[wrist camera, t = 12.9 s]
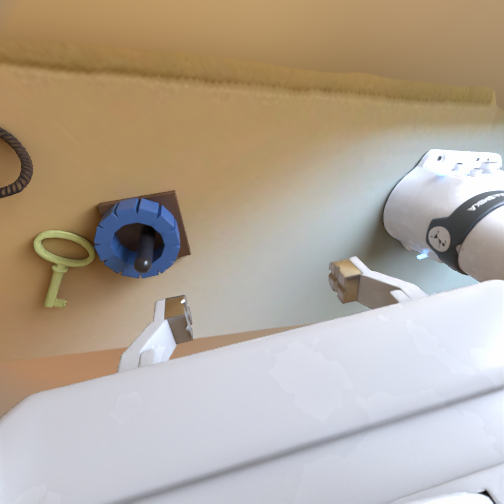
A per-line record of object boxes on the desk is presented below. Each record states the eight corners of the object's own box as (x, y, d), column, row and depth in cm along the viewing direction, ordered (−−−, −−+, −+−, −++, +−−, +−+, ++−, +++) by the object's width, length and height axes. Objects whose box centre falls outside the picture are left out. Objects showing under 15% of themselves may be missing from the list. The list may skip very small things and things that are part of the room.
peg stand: (174, 190, 39) (175, 221, 30) (190, 250, 44) (194, 292, 35) (99, 203, 38) (76, 240, 29) (124, 264, 43) (112, 311, 34)
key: (48, 301, 43) (43, 310, 41) (33, 227, 37) (26, 234, 35) (101, 300, 45) (98, 309, 43) (94, 230, 39) (90, 237, 38)
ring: (168, 192, 38) (167, 201, 35) (186, 255, 43) (186, 268, 40) (87, 206, 36) (80, 217, 33) (116, 270, 42) (112, 285, 39)
